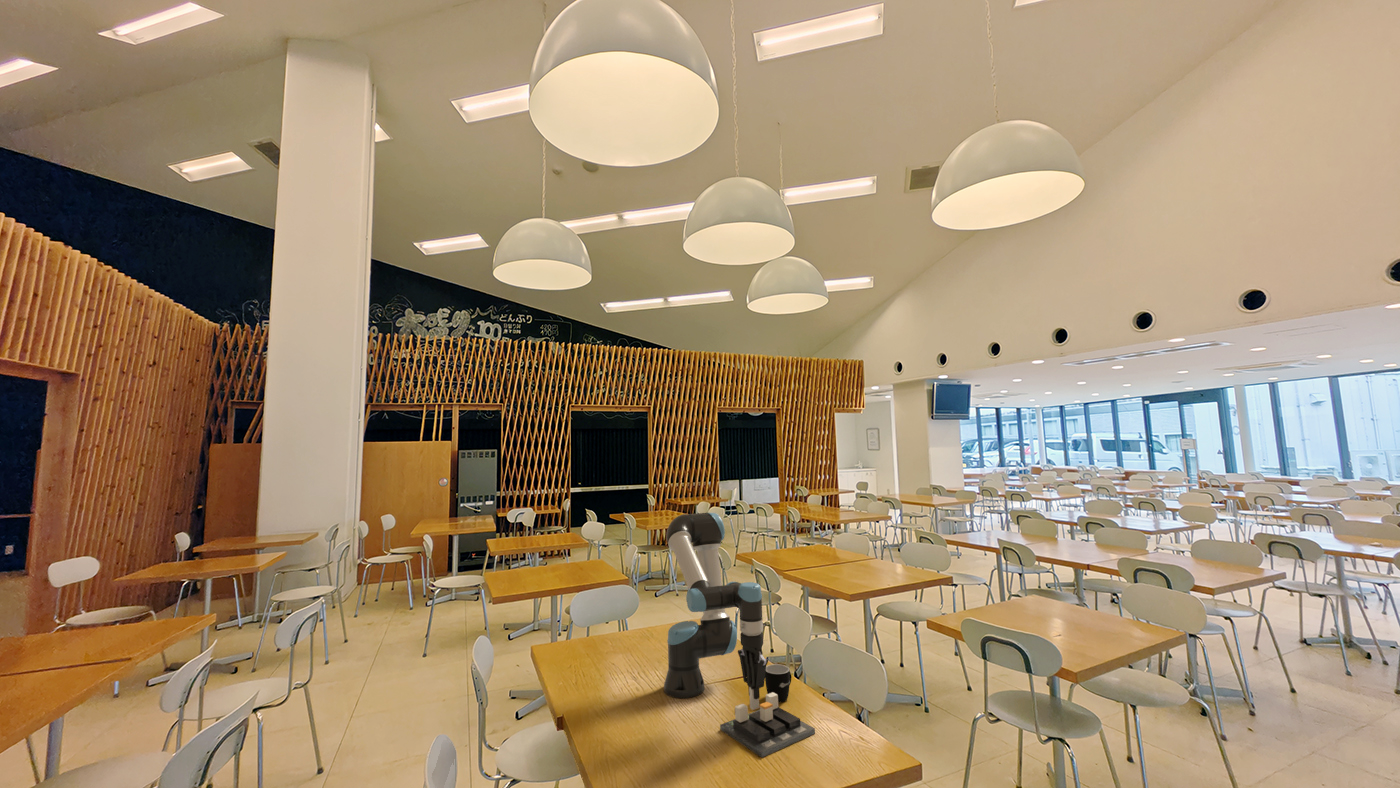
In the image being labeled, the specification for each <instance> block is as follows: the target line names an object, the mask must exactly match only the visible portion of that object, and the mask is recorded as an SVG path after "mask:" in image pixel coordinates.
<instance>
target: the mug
mask: <svg viewBox="0 0 1400 788" xmlns="http://www.w3.org/2000/svg"><path fill="white" fill-rule="evenodd" d="M764 683H765V689H766V695H767V694H770V693H772V692H773V693H775V694H777V695H778V703H784V702H787V700H788V698H789V694H790V693H789V692H790V686H791V683H792V673H791V671H790V667H789V666H787V665H784V664H778V663H774V664H773V663H772V664H767V665H766V672H765V681H764Z"/></svg>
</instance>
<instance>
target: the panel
mask: <svg viewBox="0 0 1400 788" xmlns="http://www.w3.org/2000/svg"><path fill="white" fill-rule="evenodd" d="M719 728H720V731H722V732H723V733H725V734H726V736H727V735H728V736H729V737H731V739H733V740H735V741H737V743H739V744H740V745H742V746H744V747H746V748H747V749H748V750H750V751H751V752H752V753H754V754H756V755H757V756H759V758H762V759H763V758H765V757H766V756H769V755H771V754H773V753H775V752H778V751H780V750H782V749H784V748H786V747H788V746H791V745H793V744H795V743H797V742H799V741H803V740H805V739H806V738H808V737H810V736H813V735H815V734H816V728H815V727H813V726H811V725H810V724H807V723H806V722H804V721H802V720H801V718H800V717H797V716H796V715H794V714H792V713H790V712H788V711H786V710H785V709H783V708H781V707H780V706H778V708H776V709H773V719H771V720H769V721H766V722H765V721H763V720H761V719H760V709H756V710H755V711H753V712H750V713H749V712H748V720H746V721H743V722H738V721H737V720H735V718H733V719H732V720H730V721H729V720H728V721H725V722H724V723H721V724H719Z"/></svg>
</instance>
